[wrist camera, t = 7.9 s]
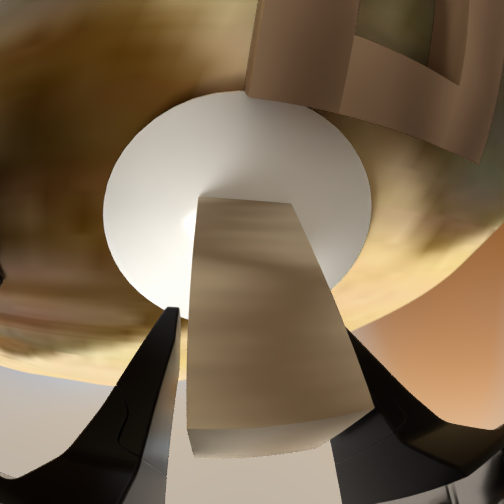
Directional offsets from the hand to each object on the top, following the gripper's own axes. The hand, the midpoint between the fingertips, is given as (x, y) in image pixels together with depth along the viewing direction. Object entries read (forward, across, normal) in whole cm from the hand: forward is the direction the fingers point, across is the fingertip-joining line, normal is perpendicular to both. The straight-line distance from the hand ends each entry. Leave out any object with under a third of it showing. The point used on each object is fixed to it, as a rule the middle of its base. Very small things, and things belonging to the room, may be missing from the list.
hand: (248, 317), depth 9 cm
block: (+5, 0, 0) cm, 5 cm away
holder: (+6, -5, -12) cm, 14 cm away
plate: (+6, 0, 0) cm, 6 cm away
